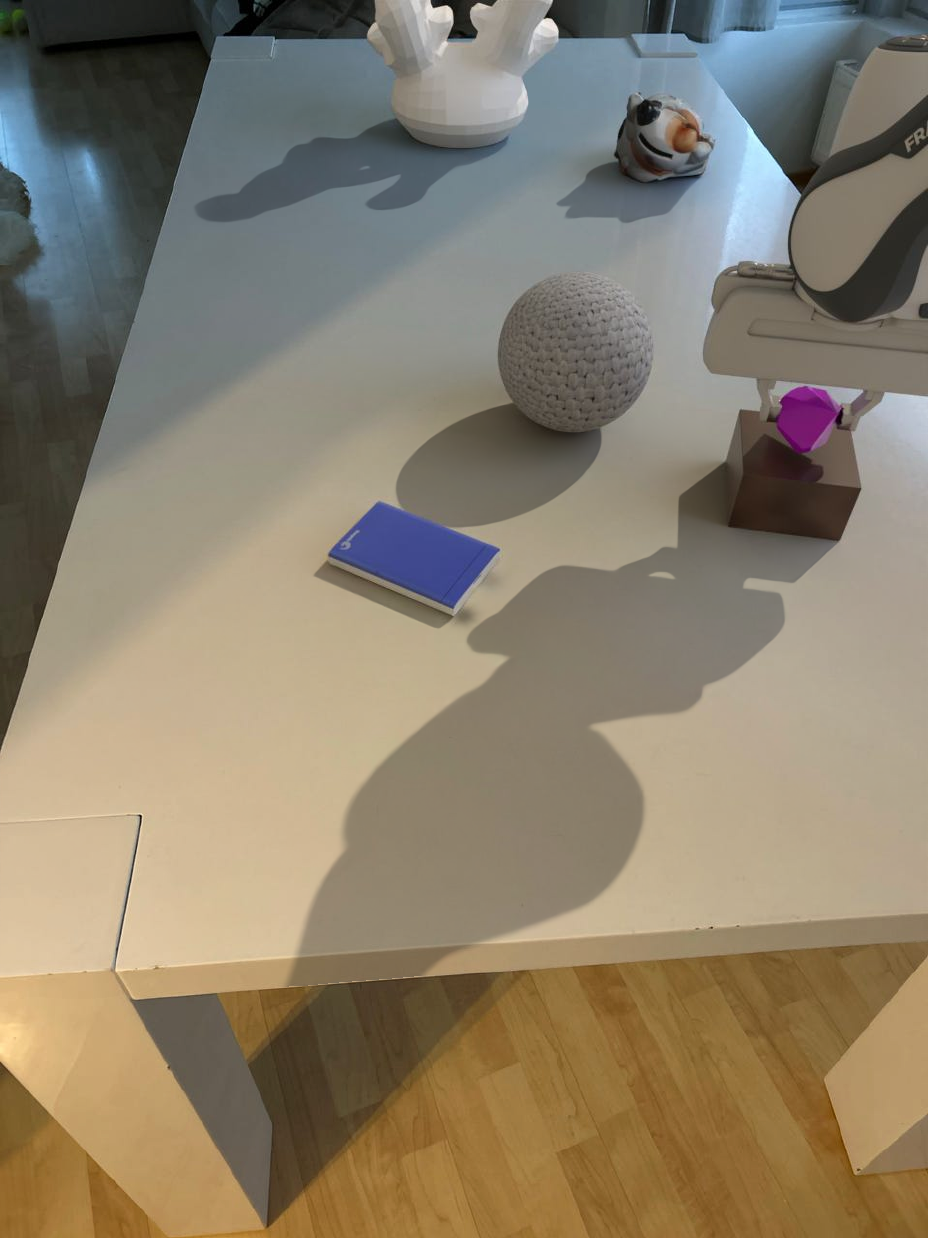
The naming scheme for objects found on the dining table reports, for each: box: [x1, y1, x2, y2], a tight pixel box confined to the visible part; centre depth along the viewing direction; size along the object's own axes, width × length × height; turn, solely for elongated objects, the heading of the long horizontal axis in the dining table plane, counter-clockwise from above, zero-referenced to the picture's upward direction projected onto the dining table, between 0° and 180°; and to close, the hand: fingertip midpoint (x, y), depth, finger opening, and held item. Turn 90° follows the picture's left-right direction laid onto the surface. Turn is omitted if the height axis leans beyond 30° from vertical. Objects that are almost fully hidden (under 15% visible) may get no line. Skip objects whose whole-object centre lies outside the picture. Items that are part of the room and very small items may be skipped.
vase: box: [366, 0, 559, 149], centre depth 138 cm, size 29×22×35 cm
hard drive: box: [327, 500, 501, 617], centre depth 82 cm, size 2×8×12 cm
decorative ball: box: [497, 271, 654, 433], centre depth 92 cm, size 15×15×15 cm
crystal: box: [776, 385, 842, 453], centre depth 82 cm, size 5×5×5 cm
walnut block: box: [725, 408, 863, 541], centre depth 87 cm, size 10×10×6 cm
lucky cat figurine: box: [613, 91, 716, 184], centre depth 136 cm, size 15×12×14 cm
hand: (806, 422), depth 83 cm, fingers closed on crystal, 5 cm apart
